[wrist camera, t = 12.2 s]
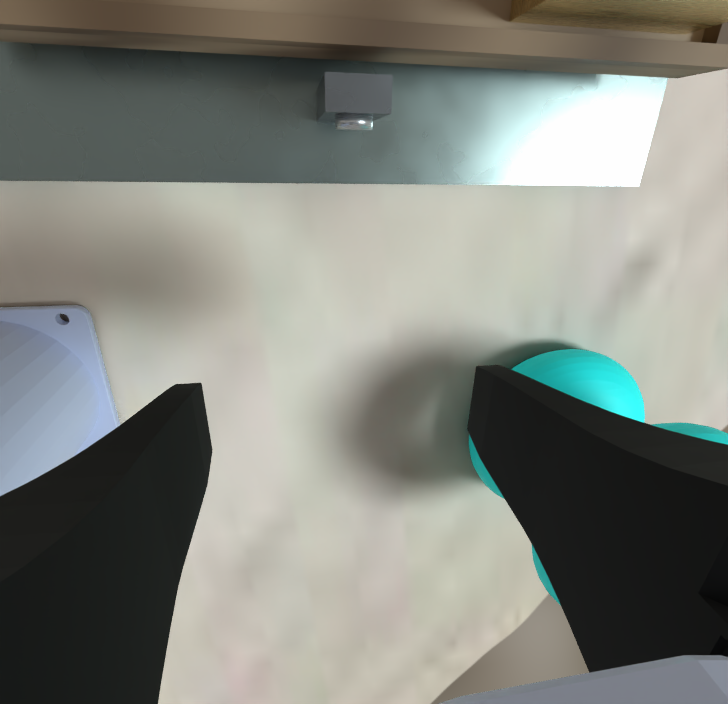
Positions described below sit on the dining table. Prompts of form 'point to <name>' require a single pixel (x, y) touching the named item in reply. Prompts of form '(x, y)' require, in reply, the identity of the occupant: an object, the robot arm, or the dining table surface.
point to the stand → (313, 120)
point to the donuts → (595, 386)
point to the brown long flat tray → (364, 34)
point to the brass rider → (623, 14)
